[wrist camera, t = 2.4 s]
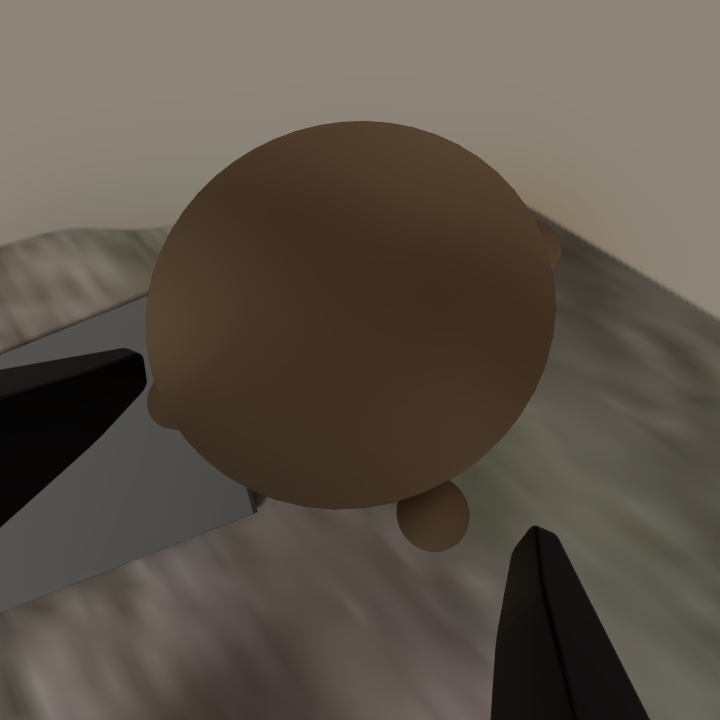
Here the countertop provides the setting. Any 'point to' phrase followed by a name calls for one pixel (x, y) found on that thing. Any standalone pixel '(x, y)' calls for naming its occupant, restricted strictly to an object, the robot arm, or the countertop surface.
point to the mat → (111, 482)
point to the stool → (352, 321)
